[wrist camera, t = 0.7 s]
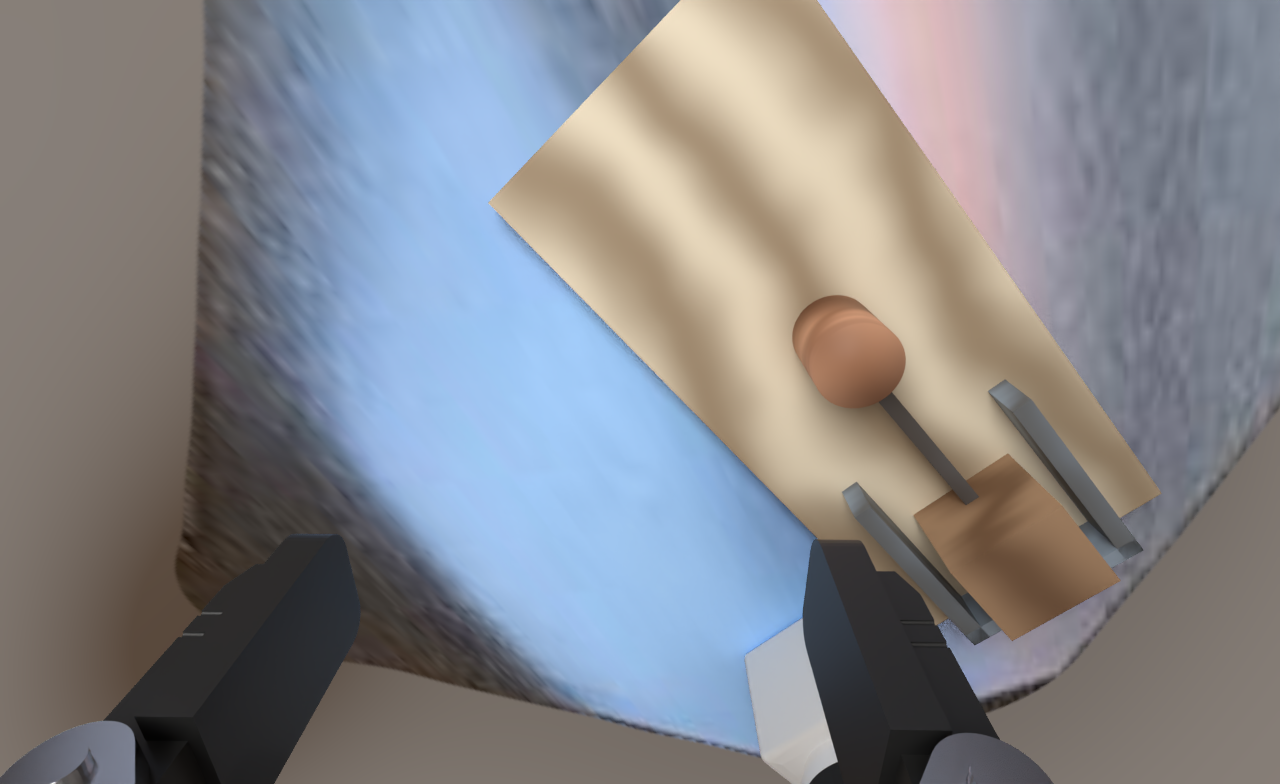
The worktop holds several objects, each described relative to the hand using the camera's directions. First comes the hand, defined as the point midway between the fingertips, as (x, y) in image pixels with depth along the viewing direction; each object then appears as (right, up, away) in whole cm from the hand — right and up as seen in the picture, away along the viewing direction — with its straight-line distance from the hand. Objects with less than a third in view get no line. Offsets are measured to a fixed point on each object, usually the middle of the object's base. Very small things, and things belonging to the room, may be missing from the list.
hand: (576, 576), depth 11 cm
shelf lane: (+12, +5, +23) cm, 26 cm away
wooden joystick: (+16, +1, +23) cm, 28 cm away
